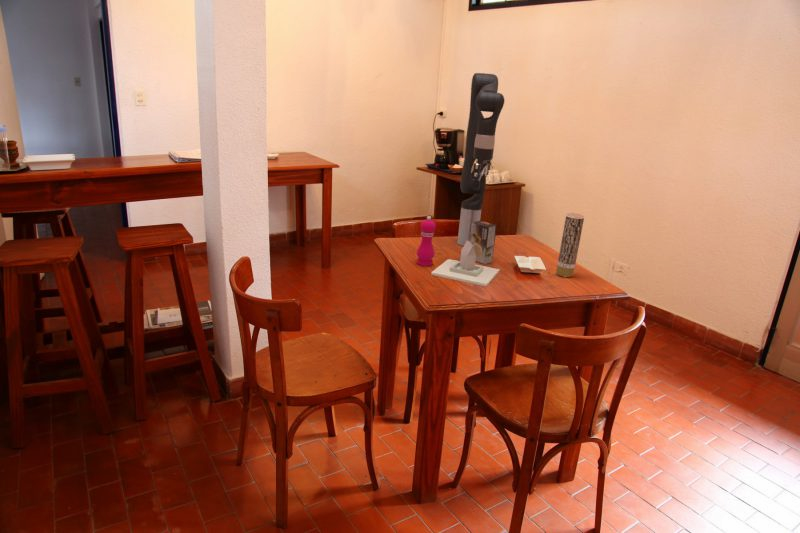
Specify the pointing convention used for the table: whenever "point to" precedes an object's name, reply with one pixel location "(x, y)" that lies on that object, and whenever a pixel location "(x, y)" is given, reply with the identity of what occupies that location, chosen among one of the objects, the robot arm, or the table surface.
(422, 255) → the pepper mill
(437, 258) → the table surface
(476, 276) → the white switch plate
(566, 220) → the paper tube
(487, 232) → the coffee box
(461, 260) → the white tea box
